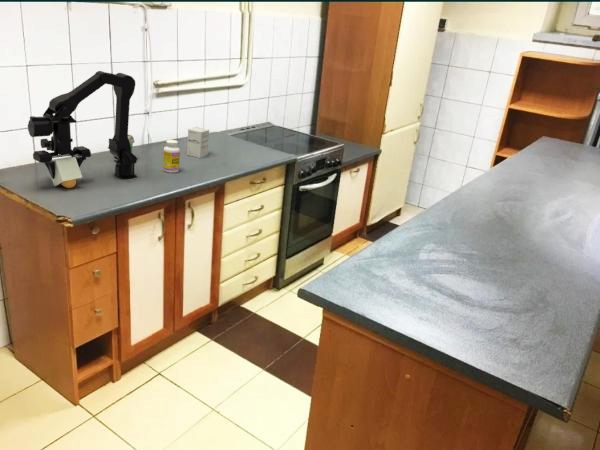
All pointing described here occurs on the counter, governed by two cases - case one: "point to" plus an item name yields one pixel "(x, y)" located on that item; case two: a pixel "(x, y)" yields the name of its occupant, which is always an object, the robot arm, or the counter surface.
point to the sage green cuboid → (66, 170)
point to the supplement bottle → (171, 157)
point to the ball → (69, 183)
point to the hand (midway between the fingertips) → (63, 176)
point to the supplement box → (197, 142)
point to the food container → (130, 144)
